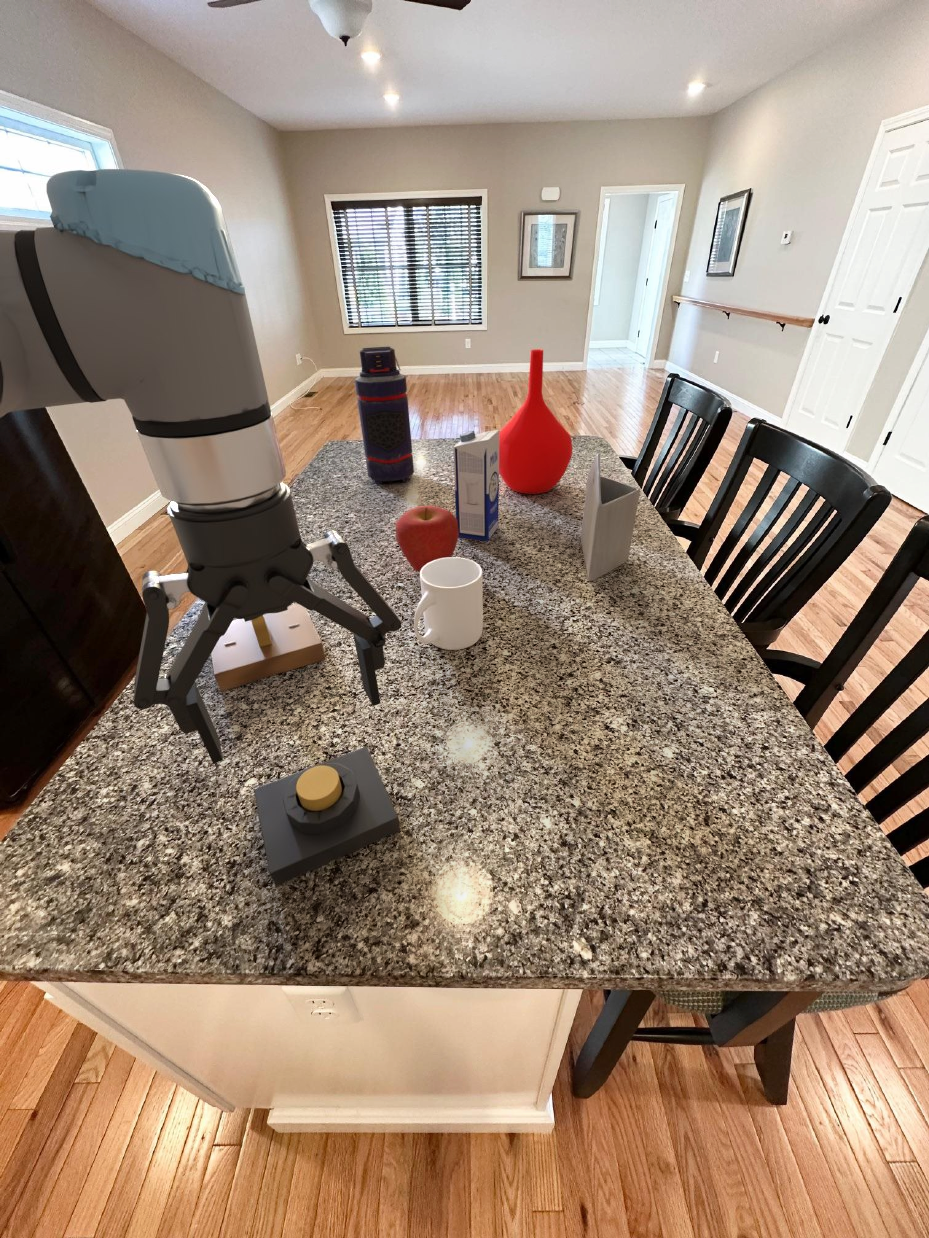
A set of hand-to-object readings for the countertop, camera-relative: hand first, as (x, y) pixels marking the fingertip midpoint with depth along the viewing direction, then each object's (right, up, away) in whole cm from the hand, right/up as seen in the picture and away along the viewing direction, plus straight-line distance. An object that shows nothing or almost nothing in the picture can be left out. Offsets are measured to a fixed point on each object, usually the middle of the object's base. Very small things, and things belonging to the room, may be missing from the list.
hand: (298, 722), depth 45 cm
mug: (+12, +6, +30) cm, 33 cm away
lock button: (+1, -8, +5) cm, 9 cm away
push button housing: (+1, -11, +7) cm, 13 cm away
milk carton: (+17, +27, +60) cm, 68 cm away
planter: (+41, +20, +49) cm, 67 cm away
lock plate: (-14, +4, +29) cm, 33 cm away
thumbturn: (-14, +7, +28) cm, 32 cm away
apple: (+8, +18, +47) cm, 51 cm away
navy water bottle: (-4, +46, +89) cm, 100 cm away
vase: (+31, +41, +80) cm, 95 cm away
